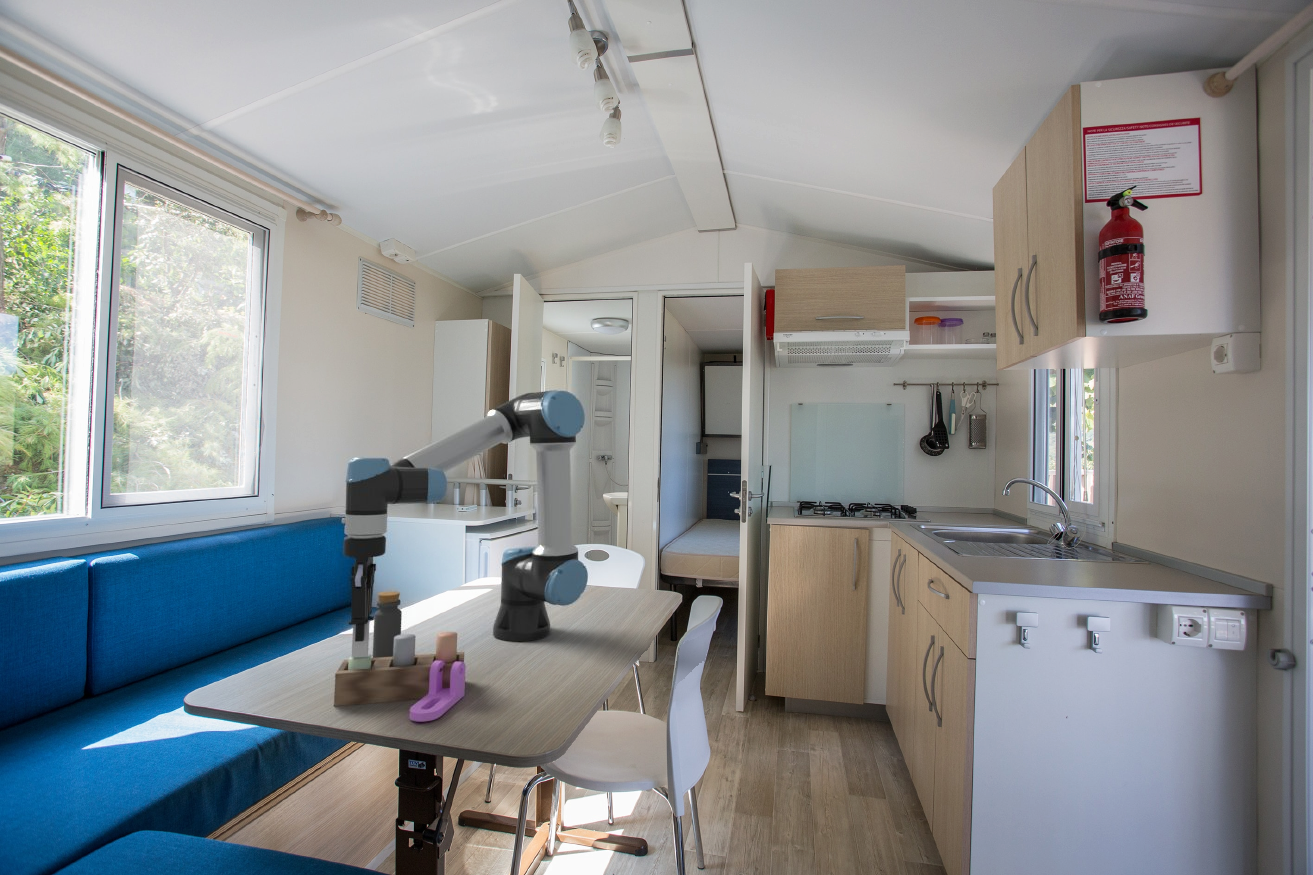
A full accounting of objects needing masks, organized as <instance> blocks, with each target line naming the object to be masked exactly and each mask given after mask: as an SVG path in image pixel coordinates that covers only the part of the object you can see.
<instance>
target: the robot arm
mask: <svg viewBox="0 0 1313 875" xmlns="http://www.w3.org/2000/svg"><path fill="white" fill-rule="evenodd" d="M585 417H586V415H585V409H584V406H583V404H582V403H581V401H580V399H578V398H577V397H576V395H574V394H573V393H571V392H569V391H567V390H557V389H555V390H546V391H538V392H527V393H524V394H523V393H522V394H520V395H519V396H518V395H517V396H516V397H514V398H512V399H510V400H508V401H507V402H504V403H503V404H500V405H498V406H497V407H495V408H493V409H491V410H489V411H488V412H487V414H486V417H484V418H482V419H480V420H477V421H476V422H474V423H470V424H469V425H467V426H465V427H463V428H461V429H459V430H457V431H455V432H452V433H451V434H449V435H447V436H444V437H442V438H440V439H439V440H437V441H433V442H432V443H431V444H428V445H426V446H424V447H422V448H420V449H418V450H416V451H414V452H412V453H410V454H408V455H405V456H404V457H402V458H400V459H397V460H395V461H393V462H392V463H390V460H389V459H388V458H386V457H357V456H356V457H353V458H351V459H350V460H349V461H348V464H347V470H346V479H345V483H346V484H345V487H346V488H345V510H344V511H345V512H344V513H345V514H344V515H345V518H341V524H345V525H344V534H345V535H347V536H345V537H344V538H343V550H342V553H343V554H342V555H343V556H344V557H346V558H354V559H355V560H354V564H353V566H351V567H350V568H351V570H350V571H351V572H350V575H351V577H350V579H349V581H350V587H351V590H350V591H351V592H350V596H351V598H350V599H351V600H350V602H351V606H350V607H351V610H350V611H351V614H350V615H351V617H350V618H351V619H350V620H349V621H348V626H349V625H351V626H352V641H351V642H352V643H351V656H352V658H358V657H367V656H368V654H369V645H370V643H369V640H370V621H374V616H372V614H373V609H372V606H373V595H374V584H375V574H376V573H375V572H376V571H377V563H374V558H377V557H382V556H384V554H386V548H387V546H386V545H387V544H386V543H387V537H386V536H385V535H384V534H387V531H388V529H387V528H388V507H389V506H388V505H399V504H400V505H403V504H405V505H408V504H412V505H413V504H426V505H428V504H433V503H440V502H441V501H442V500H444V498H445V496H446V494H447V490H448V488H447V487H448V480H447V476H446V474H445V473H447V472H448V471H450V470H452V469H454V468H456V467H458V466H459V465H461V464H463V463H465V462H467V461H470V460H471V459H473V458H475V457H476V456H478V455H480V454H481V453H484V452H486V451H487V450H489V449H492V448H494V447H495V446H497V445H499V444H500V443H501V444H505V445H507V444H509V443H511V442H513V441H515V440H518V439H522V438H529V445H530V446H531V447H532V448H533V449H534V450H535V453H536V454H535V456H536V491H537V492H536V503H537V504H536V506H537V545H536V546H525V547H516V548H508V549H506V550H504V552H503V554H502V560H501V582H500V583H501V586H500V588H501V589H500V607H499V609H498V611H497V613H496V616H495V620H494V622H493V627H492V635H493V636H494V637H495V638H496V639H498V640H503V641H510V642H524V641H525V642H528V641H535V640H538V639H539V640H540V639H542V638H545V637H547V636H549V635H550V633H551V621H550V619H549V618H550V617H549V615H548V610H547V607H546V603H548V604H550V605H551V606H553V605H554V606H556V605H557V606H561V607H562V606H563V607H565V606H569V605H572V604H574V603H575V602H576V601H578V600H579V599H580V597H581V596H582V594H583V593H584V592H585V590H586V588H587V584H588V579H589V575H588V574H589V573H588V570H587V567H586V565H584V563H583V562H582V561H581V560H579V548H578V547H577V546H576V545H575V544H574V543H573V534H572V533H573V531H572V530H573V526H572V522H573V520H572V519H573V518H572V486H571V485H572V483H571V482H572V481H571V480H572V479H571V478H572V477H571V470H572V469H571V450H572V448H573V447H574V446H575V445H576V444H577V435H578V434H579V433H580V432H581V430H582V428H583V427H584V425H585V420H586V418H585Z"/></svg>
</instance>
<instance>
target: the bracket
mask: <svg viewBox="0 0 1313 875" xmlns="http://www.w3.org/2000/svg"><path fill="white" fill-rule="evenodd" d="M443 665H445V663H444V661H434V662H433V663H432V665H431V668H430V677H429V693H428V694H427V695H426V696H425V697H424V698H422V699H419V700H418V701H417V702H416V703H415V704H413V705H412V706H410V707H409V719H410V720H411V721H412V722H429V721H430V722H431V721H434V720H437V719H439V718H440V717H441V716H443V715H444V714H445V713H446V712H447V711H449V709H450V708H452V707H453V706H454V705H455V704H457V703H458V702H459V701H460V700H461V699H463V697H464V696H465V695H466V694H465V691H466V689H465V688H466V663H465V661H464V662H457V661H456V662H454V664H453V665H452V668H451V673H450V688H446V689H442V674H443V670H442V671H441V672H439V671H440V668H442V669H443Z"/></svg>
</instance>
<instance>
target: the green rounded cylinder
mask: <svg viewBox="0 0 1313 875" xmlns="http://www.w3.org/2000/svg"><path fill="white" fill-rule="evenodd" d="M371 658H372V655H371V654H369V653H368V656H367V657H358V658H352V655H350V657H348V660H349V663H348V670H359V669H371Z"/></svg>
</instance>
